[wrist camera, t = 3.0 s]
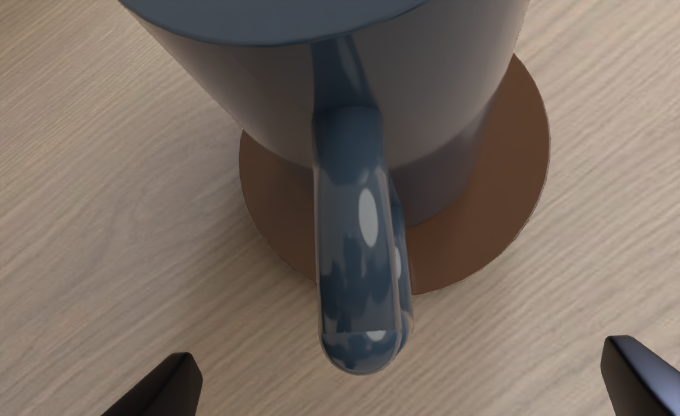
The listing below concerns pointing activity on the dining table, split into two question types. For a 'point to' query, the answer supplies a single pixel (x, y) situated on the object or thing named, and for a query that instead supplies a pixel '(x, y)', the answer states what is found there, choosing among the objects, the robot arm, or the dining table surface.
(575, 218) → the dining table surface
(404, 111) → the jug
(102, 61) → the dining table surface
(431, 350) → the dining table surface
